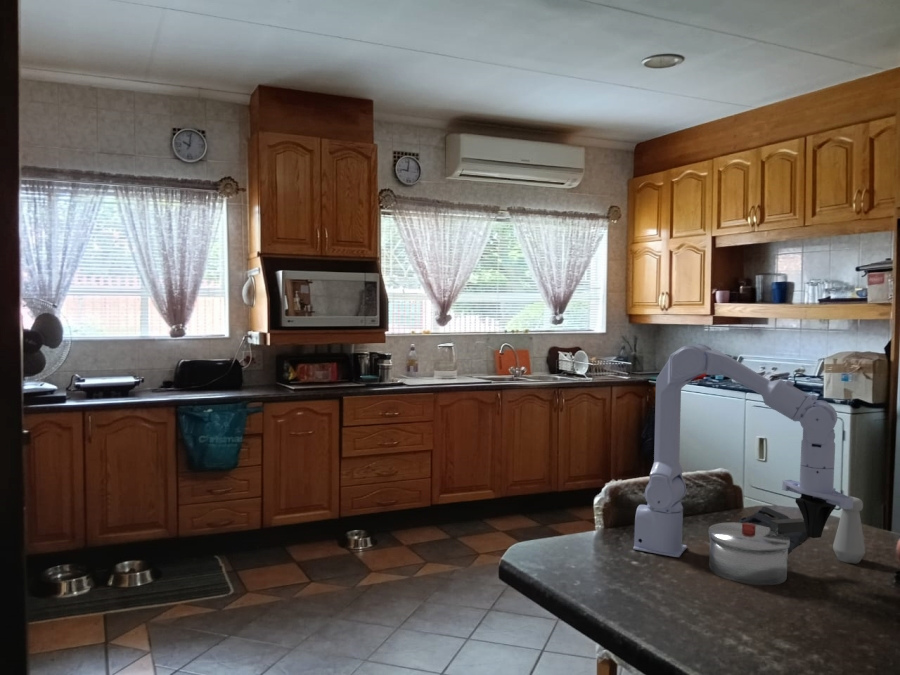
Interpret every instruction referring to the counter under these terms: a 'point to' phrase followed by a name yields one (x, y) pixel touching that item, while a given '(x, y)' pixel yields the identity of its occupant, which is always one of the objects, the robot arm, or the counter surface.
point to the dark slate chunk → (764, 520)
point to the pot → (748, 565)
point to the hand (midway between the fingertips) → (814, 536)
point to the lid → (756, 535)
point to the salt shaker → (850, 534)
